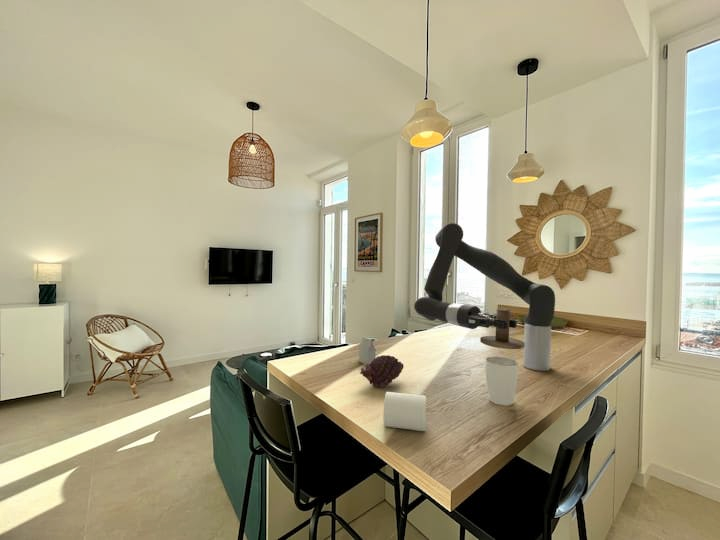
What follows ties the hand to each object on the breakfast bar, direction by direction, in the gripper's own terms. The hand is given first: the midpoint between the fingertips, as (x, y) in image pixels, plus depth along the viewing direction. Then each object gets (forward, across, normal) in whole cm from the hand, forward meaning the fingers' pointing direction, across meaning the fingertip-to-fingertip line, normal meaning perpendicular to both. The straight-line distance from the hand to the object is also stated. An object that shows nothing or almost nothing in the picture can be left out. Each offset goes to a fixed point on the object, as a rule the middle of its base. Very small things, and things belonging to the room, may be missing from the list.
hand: (511, 324), depth 90 cm
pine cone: (-30, -23, +24) cm, 44 cm away
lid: (-3, 0, +6) cm, 7 cm away
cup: (-3, 0, +24) cm, 24 cm away
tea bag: (-52, -15, +24) cm, 59 cm away
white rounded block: (-8, -33, +24) cm, 41 cm away
